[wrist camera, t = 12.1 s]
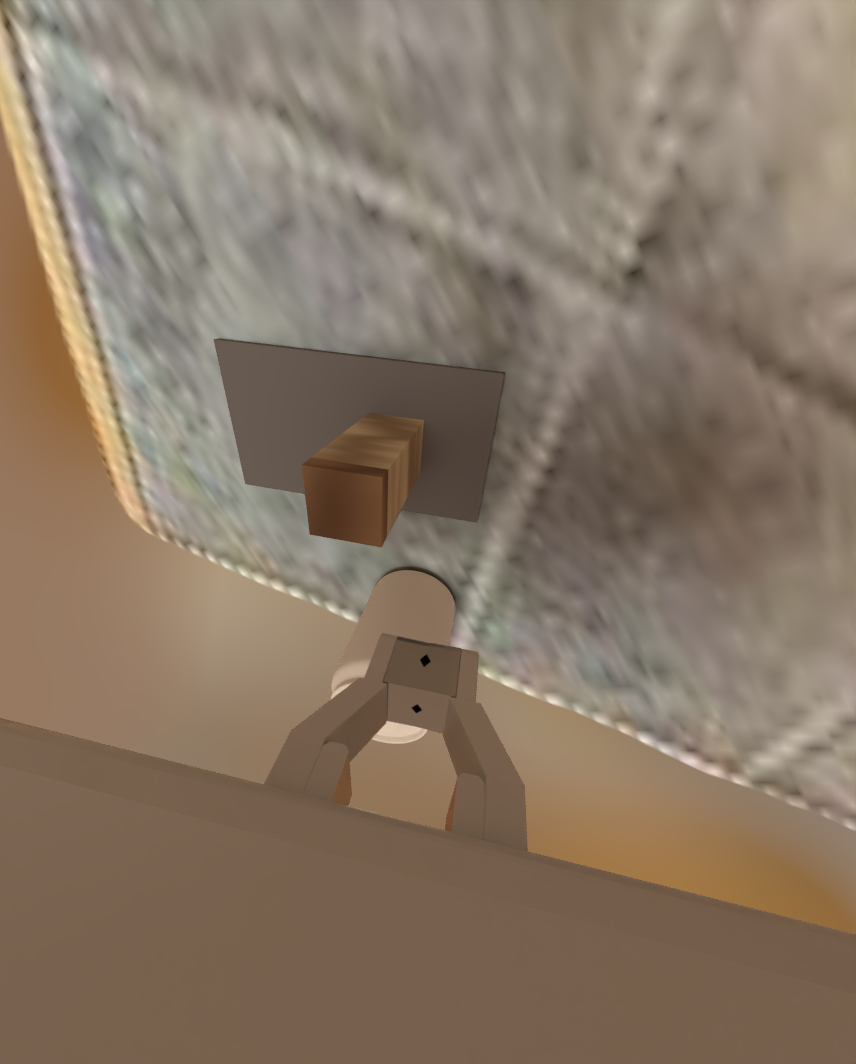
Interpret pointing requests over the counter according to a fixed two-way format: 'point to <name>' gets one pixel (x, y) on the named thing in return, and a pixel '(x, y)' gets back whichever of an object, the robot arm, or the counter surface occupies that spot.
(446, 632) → the beverage can
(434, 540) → the counter surface
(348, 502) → the maple block
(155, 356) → the counter surface
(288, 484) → the rubber mat
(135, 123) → the counter surface
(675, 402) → the counter surface
